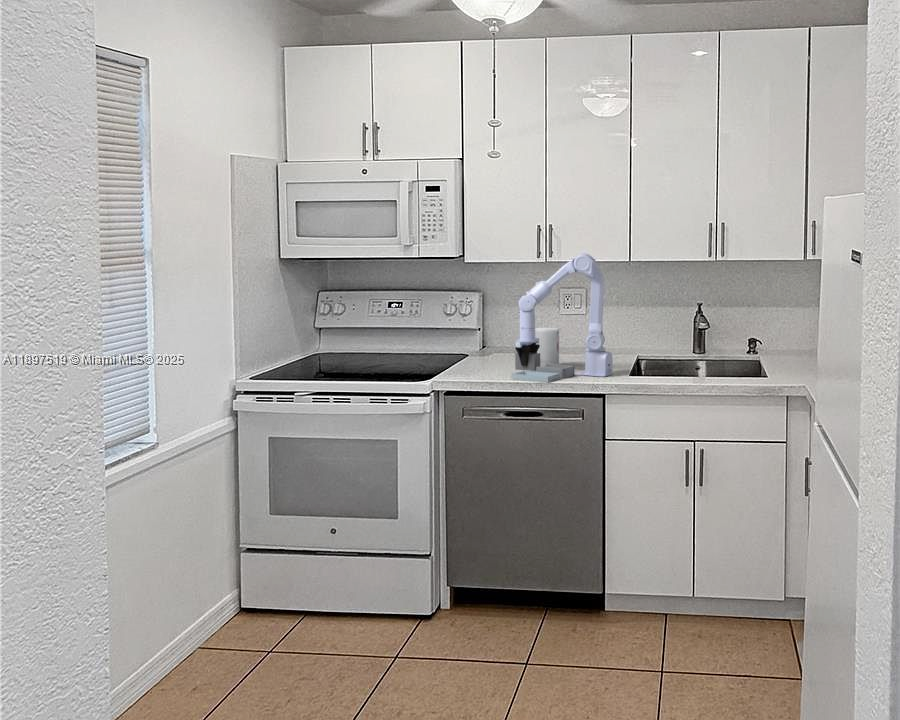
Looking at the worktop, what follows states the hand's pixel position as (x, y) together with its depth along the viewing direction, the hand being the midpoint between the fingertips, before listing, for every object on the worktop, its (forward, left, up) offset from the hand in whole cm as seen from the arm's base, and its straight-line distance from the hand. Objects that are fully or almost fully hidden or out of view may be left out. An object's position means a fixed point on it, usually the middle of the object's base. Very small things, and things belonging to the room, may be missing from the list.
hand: (527, 364), depth 423 cm
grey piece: (+1, -17, -4) cm, 17 cm away
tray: (-9, +11, -3) cm, 14 cm away
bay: (-11, 0, -3) cm, 11 cm away
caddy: (0, 0, -2) cm, 2 cm away
